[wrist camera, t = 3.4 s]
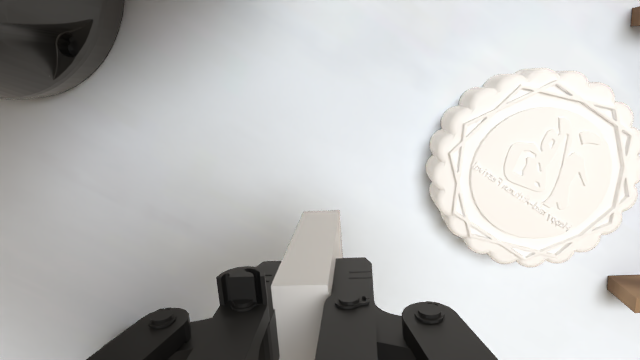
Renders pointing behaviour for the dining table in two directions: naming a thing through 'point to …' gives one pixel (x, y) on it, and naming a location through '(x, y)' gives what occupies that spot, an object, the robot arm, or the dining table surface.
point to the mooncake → (535, 166)
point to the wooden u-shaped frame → (627, 288)
